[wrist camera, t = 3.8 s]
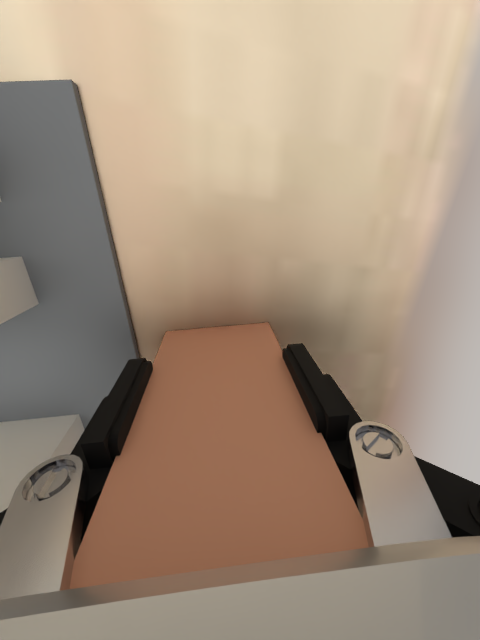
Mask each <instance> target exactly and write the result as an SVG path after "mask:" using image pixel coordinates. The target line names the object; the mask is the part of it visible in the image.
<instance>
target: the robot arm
mask: <svg viewBox="0 0 480 640" xmlns="http://www.w3.org/2000/svg"><path fill="white" fill-rule="evenodd" d="M282 357H283V359H284V362H285V364H286V366H287V368H288V370H289V373H290V375H291V377H292V379H293V381H294V383H295V386H296V388H297V390H298V392H299V394H300V397H301V399H302V401H303V403H304V405H305V407H306V410H307V412H308V414H309V416H310V418H311V420H312V423H313V425H314V427H315V429H316V431H317V433H322V435H323V437H324V439H325V442H326V444H327V446H328V448H329V450H330V452H331V454H332V456H333V458H334V460H335V462H336V465H337V467H338V469H339V471H340V473H341V475H342V477H343V479H344V481H345V483H346V485H347V487H348V490H349V492H350V494H351V496H352V498H353V500H354V502H355V504H356V506H357V508H358V510H359V513H360V515H361V517H362V519H363V522H364V527H365V532H366V536H367V541H368V546H369V548H361V549H354V550H346V551H339V552H331V553H324V554H316V555H309V556H301V557H294V558H286V559H279V560H272V561H265V562H258V563H250V564H243V565H236V566H229V567H222V568H214V569H207V570H200V571H193V572H186V573H179V574H172V575H165V576H158V577H151V578H144V579H137V580H130V581H123V582H116V583H109V584H102V585H96V586H89V587H82V588H75V589H70V583H71V576H72V570H73V564H74V560H75V557H76V555H77V552H78V550H79V547H80V545H81V542H82V540H83V537H84V535H85V532H86V530H87V527H88V525H89V522H90V520H91V517H92V515H93V512H94V510H95V507H96V505H97V502H98V500H99V497H100V495H101V492H102V490H103V487H104V485H105V482H106V480H107V477H108V475H109V472H110V470H111V467H112V465H113V462H114V460H115V457H116V456H120V455H121V452H122V449H123V447H124V444H125V442H126V439H127V436H128V434H129V431H130V429H131V426H132V423H133V421H134V418H135V416H136V413H137V410H138V408H139V405H140V403H141V400H142V397H143V395H144V392H145V390H146V387H147V384H148V382H149V379H150V377H151V374H152V371H153V366H152V363H151V361H147V360H146V359H145V358H139V359H129V360H128V362H127V364H126V365H125V367H124V369H123V371H122V372H121V374H120V376H119V377H118V379H117V381H116V383H115V384H114V386H113V388H112V390H111V391H110V393H109V395H108V396H106V397H104V399H103V400H102V401H101V403H100V405H99V406H98V408H97V410H96V412H95V413H94V415H93V417H92V418H91V420H90V422H89V423H88V425H87V427H86V428H85V430H84V432H83V434H82V435H81V437H80V439H79V440H78V442H77V444H76V445H75V447H74V449H73V450H72V452H71V454H65V455H60V456H56V457H54V458H51V459H49V460H46V461H45V462H43V463H41V464H40V465H38V466H36V467H35V468H34V469H33V470H31V471H30V472H29V473H28V474H27V475H26V476H25V477H24V478H23V479H22V480H21V481H20V483H19V485H18V487H17V488H16V490H15V492H14V495H13V497H12V499H11V502H10V504H9V507H8V508H7V509H5V510H4V511H2V512H1V513H0V640H480V485H478V484H475V483H473V482H471V481H469V480H467V479H464V478H462V477H460V476H458V475H455V474H453V473H450V472H448V471H446V470H444V469H442V468H440V467H437V466H435V465H433V464H431V463H428V462H426V461H424V460H422V459H419V458H417V457H415V456H414V455H413V453H412V451H411V449H410V447H409V445H408V443H407V441H406V440H405V438H404V437H403V436H402V435H401V434H400V433H399V432H397V431H396V430H395V429H393V428H391V427H390V426H387V425H385V424H382V423H379V422H374V421H362V420H361V418H360V417H359V416H358V414H357V413H356V411H355V410H354V408H353V407H352V406H351V404H350V403H349V401H348V400H347V398H346V397H345V396H344V394H343V393H342V391H341V390H340V388H339V387H338V386H337V384H336V383H335V381H334V380H333V378H332V377H331V376H330V375H328V374H325V375H323V374H322V372H321V371H320V369H319V368H318V366H317V365H316V363H315V362H314V360H313V359H312V357H311V356H310V354H309V352H308V351H307V349H306V348H305V346H304V345H303V344H302V343H301V344H290V345H288V346H287V349H283V351H282Z"/></svg>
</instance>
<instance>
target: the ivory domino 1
mask: <svg viewBox="0 0 480 640" xmlns="http://www.w3.org/2000/svg"><path fill="white" fill-rule="evenodd" d="M38 304H39V303H38V300H37V297H36V295H35V292H34V289H33V286H32V284H31V281H30V278H29V275H28V273H27V270H26V267H25V264H24V261H23V259H22V257H7V258H0V324H2V323H4V322H6V321H7V320H9V319H11V318H13V317H15V316H17V315H19V314H21V313H23V312H24V311H26V310H28V309H30V308H32V307H34V306H36V305H38Z"/></svg>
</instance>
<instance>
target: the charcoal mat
mask: <svg viewBox="0 0 480 640" xmlns="http://www.w3.org/2000/svg"><path fill="white" fill-rule="evenodd" d="M0 198H1V201H2V202H0V258H7V257H22V259H23V261H24V264H25V267H26V270H27V273H28V275H29V278H30V281H31V284H32V286H33V289H34V292H35V295H36V297H37V300H38V303H39V304H38V305H36V306H34V307H32V308H30V309H28V310H26V311H24V312H23V313H21V314H19V315H17V316H15V317H13V318H11V319H9V320H7V321H6V322H4V323H2V324H0V422H8V421H17V420H27V419H37V418H47V417H56V416H66V415H76V414H79V416H80V418H81V421H82V424H83V427H84V430H85V428H86V427H87V425H88V423H89V422H90V420H91V418H92V417H93V415H94V413H95V412H96V410H97V408H98V406H99V405H100V403H101V401H102V400H103V399H104V397H106V396H108V395H109V393H110V391H111V390H112V388H113V386H114V384H115V383H116V381H117V379H118V377H119V376H120V374H121V372H122V371H123V369H124V367H125V365H126V364H127V362H128V360H129V359H139V358H140V357H139V353H138V349H137V344H136V340H135V336H134V331H133V327H132V323H131V318H130V314H129V310H128V305H127V301H126V297H125V292H124V288H123V283H122V279H121V275H120V270H119V266H118V262H117V257H116V253H115V249H114V244H113V240H112V236H111V231H110V227H109V223H108V218H107V214H106V210H105V205H104V201H103V197H102V192H101V188H100V183H99V179H98V175H97V170H96V166H95V162H94V157H93V153H92V149H91V144H90V140H89V136H88V131H87V127H86V123H85V118H84V114H83V110H82V105H81V101H80V96H79V92H78V88H77V85H76V84H75V83H74V82H73V81H72V80H47V81H15V82H0Z"/></svg>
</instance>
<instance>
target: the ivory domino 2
mask: <svg viewBox="0 0 480 640" xmlns="http://www.w3.org/2000/svg"><path fill="white" fill-rule="evenodd" d="M83 432H84V427H83V424H82V421H81V418H80V416H79V414H76V415H66V416H56V417H47V418H37V419H27V420H17V421H8V422H0V513H1V512H2V511H4V510H5V509H7V508H8V507H9V504H10V502H11V499H12V497H13V495H14V492H15V490H16V488H17V487H18V485H19V483H20V481H21V480H22V479H23V478H24V477H25V476H26V475H27V474H28V473H29V472H30V471H31V470H33V469H34V468H35V467H36V466H38V465H40V464H41V463H43V462H45V461H46V460H49V459H51V458H54V457H56V456H60V455H65V454H71V452H72V450H73V449H74V447H75V445H76V444H77V442H78V440H79V439H80V437H81V435H82V434H83Z"/></svg>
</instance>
